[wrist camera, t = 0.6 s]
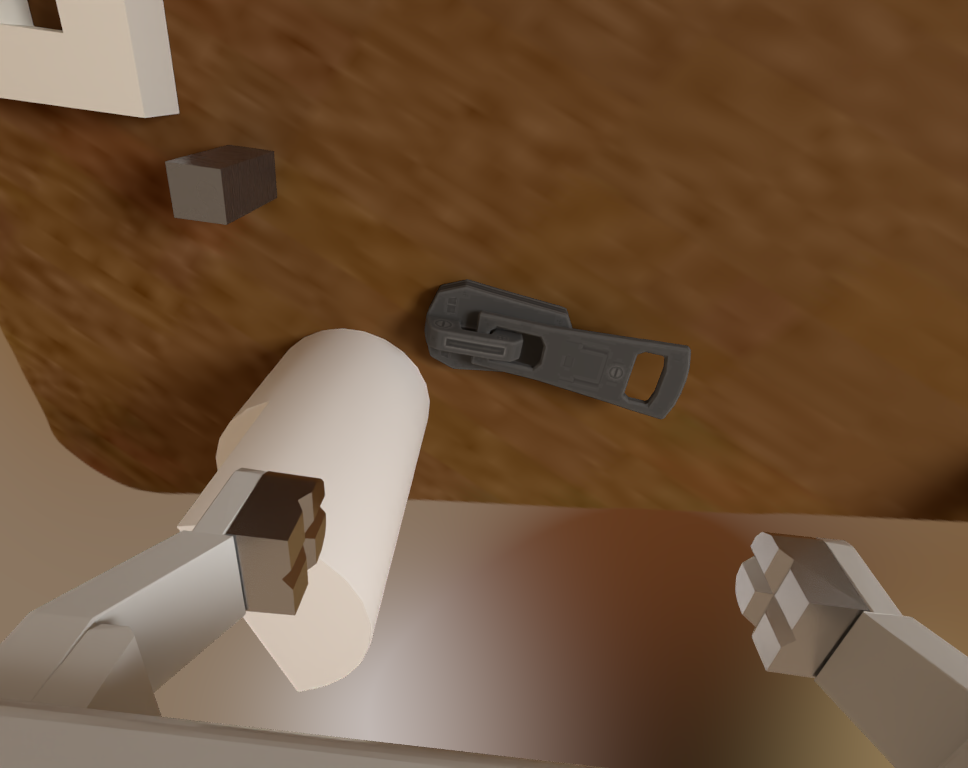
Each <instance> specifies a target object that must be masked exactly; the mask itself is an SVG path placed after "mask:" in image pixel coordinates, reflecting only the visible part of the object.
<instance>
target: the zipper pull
mask: <svg viewBox="0 0 968 768" xmlns="http://www.w3.org/2000/svg"><path fill="white" fill-rule="evenodd" d="M425 338H426V342H427V344H428V348H429V352H430V355H431V356H432V357H433V358H435V359H437V360H439V361H440V362H442V363H444V364H446V365H448V366H449V367H451V368H453V369H469V370H485V371H499V372H507V373H511V374H515V375H518V376H522V377H526V378H530V379H534V380H538V381H541V382H544V383H547V384H551V385H554V386H557V387H560V388H563V389H566V390H570V391H573V392H576V393H579V394H582V395H586V396H589V397H592V398H595V399H598V400H601V401H605V402H608V403H611V404H614V405H617V406H620V407H623V408H626V409H629V410H632V411H635V412H639V413H642V414H645V415H648V416H652V417H655V418H658V419H663V418H665V416H666V415H667V414H668V413H669V411H670V410H671V409H672V408H673V407H674V405H675V403H676V402H677V400H678V398H679V396H680V394H681V392H682V389H683V387H684V385H685V382H686V379H687V375H688V372H689V368H690V356H691V350H690V348H689V347H688V346H685V345H679V344H672V343H666V342H660V341H653V340H646V339H638V338H631V337H625V336H618V335H612V334H605V333H599V332H592V331H586V330H579V329H573V328H572V325H571V322H570V319H569V316H568V312H567V309H566V308H564V307H562V306H558V305H555V304H551V303H548V302H544V301H540V300H537V299H533V298H530V297H526V296H523V295H519V294H516V293H512V292H509V291H505V290H501V289H498V288H494V287H491V286H488V285H485V284H481V283H478V282H475V281H471V280H468V279H467V280H462V281H458V282H453V283H448V284H444V285H441V286H440V287H439V289H438V291H437V293H436V295H435V297H434V299H433V301H432V303H431V305H430V307H429V310H428V312H427V315H426V323H425ZM643 352H648V353H653V354H657V355H662V356H664V357H665V358H664V367H663V370H662V373H661V375H660V378H659V381H658V383H657V386H656V388H655V391H654V392H653V394H652V395H651V397H650V398H649V399H648V400H646V401H643V400H639V399H634V398H630V397H628V396H627V395H626V394H625V393H624V391H625V389H626V386H627V383H628V380H629V377H630V374H631V371H632V368H633V365H634V363H635V360H636V357H637V354H640V353H643Z"/></svg>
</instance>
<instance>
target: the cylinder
mask: <svg viewBox="0 0 968 768" xmlns="http://www.w3.org/2000/svg"><path fill="white" fill-rule="evenodd" d="M429 403H430V401H429V396H428V391H427V386H426V383H425V381H424V379H423V377H422V376H421V374H420V372H419V370H418V368H417V366H416V365H415V364H414V363H413V362H412V361H411V360H410V359H409V358H408V357H407V356H406V354H405V353H404V352H403V351H401V350H400V349H398V348H397V347H395V346H394V345H392V344H391V343H389V342H388V341H386V340H385V339H382V338H380V337H377V336H375V335H372V334H370V333H367V332H364V331H357V330H350V329H332V330H322V331H320V332H317V333H314V334H312V335H309V336H307V337H304V338H303V339H301V340H300V341H299V342H298V343H296V344H295V345H294V346H292V347H291V348H290V349H289V350H288V351H287V352H286V354H285V355H284V356H283V357H282V359H281V360H280V361H279V362H278V364H277V365H276V366H275V367H274V368H273V370H272V371H271V372H270V373H269V375H268V376H267V377H266V378H265V380H264V381H263V382H262V383H261V384H260V386H259V387H258V388H257V389H256V391H255V392H254V393H253V394H252V396H251V397H250V398H249V399H248V400H247V402H246V403H245V404H244V405H243V407H242V408H241V409H240V410H239V412H238V413H237V414H236V415H235V416H234V418H233V419H232V420H231V421H230V423H229V424H228V426H227V428H226V429H225V431H224V432H223V434H222V435H221V437H220V438H219V443H218V448H217V453H216V463H217V469H218V471H217V473H216V474H215V475H214V477H213V478H212V479H211V481H210V482H209V483H208V485H207V486H206V487H205V489H204V490H203V491H202V493H201V494H200V496H199V497H198V498H197V500H196V501H195V502H194V504H193V505H192V506H191V508H190V509H189V510H188V512H187V513H186V514H185V516H184V517H183V518H182V520H181V521H180V522H179V524H178V525H177V528H178V529H179V531H180V532H181V531H183V530H186V531H192V530H193V529H194V527H195V526H196V525H197V523H198V522H199V520H200V519H201V517H202V516H203V515H204V513H205V512H206V510H207V509H208V508H209V506H210V505H211V503H212V502H213V501H214V499H215V498H216V496H217V495H218V494H219V492H220V491H221V489H222V488H223V487H224V485H225V484H226V482H227V481H228V480H229V478H230V477H231V475H232V474H233V473H234V472H235V471H236V470H238V469H240V468H248V469H254V470H261V471H267V472H268V471H272V472H279V473H286V474H293V475H300V476H307V477H314V478H321V479H322V480H323V481H324V489H325V496H324V499H323V501H322V503H321V505H320V507H321V508H322V509H323V510H324V512H325V513H326V531H325V538H324V542H323V546H322V550H321V553H320V556H319V558H318V561H317V564H315V565H314V566H313V567H311V568H310V569H308V570H307V572H308V586H307V588H306V591H305V593H304V595H303V598H302V600H301V603H300V605H299V608H298V610H297V612H296V615H284V614H273V613H261V612H250V611H246V615H244V616H243V618H244V619H245V621H246V622H247V623H248V625H249V626H250V627H251V629H252V630H253V632H254V633H255V634H256V635H257V637H258V638H259V640H260V641H261V642H262V644H263V645H264V647H265V648H266V649H267V651H268V652H269V653H270V655H271V656H272V657H273V659H274V660H275V661H276V663H277V664H278V666H279V667H280V668H281V670H282V671H283V672H284V674H285V675H286V677H287V678H288V679H289V681H290V682H291V683H292V685H293V686H294V687H295V689H296V690H297V691H298V692H300V691H305V690H310V689H315V688H320V687H324V686H326V685H329V684H331V683H333V682H335V681H337V680H340V679H342V678H344V677H346V676H347V675H348V674H349V673H350V672H351V671H353V670H354V669H355V668H356V667H357V666H358V665H360V664H361V662H362V660H363V659H364V657H365V655H366V652H367V650H368V649H369V646H370V644H371V640H372V636H373V632H374V628H375V624H376V620H377V617H378V613H379V609H380V604H381V601H382V597H383V593H384V589H385V585H386V581H387V577H388V573H389V569H390V566H391V562H392V558H393V553H394V550H395V546H396V542H397V538H398V534H399V530H400V526H401V522H402V518H403V514H404V511H405V506H406V503H407V499H408V495H409V491H410V487H411V483H412V479H413V475H414V471H415V467H416V463H417V459H418V456H419V452H420V448H421V444H422V440H423V436H424V432H425V428H426V424H427V420H428V413H429Z"/></svg>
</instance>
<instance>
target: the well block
mask: <svg viewBox="0 0 968 768" xmlns="http://www.w3.org/2000/svg"><path fill="white" fill-rule="evenodd" d="M56 3H57V7H58V12H59V16H60V20H61V25H62V29H63V30H56V29H49V28H42V27H35V26H34V25H33V21H32V17H31V13H30V9H29V5H28V1H27V0H0V98H5V99H13V100H20V101H27V102H34V103H41V104H48V105H56V106H63V107H70V108H77V109H84V110H91V111H98V112H106V113H113V114H120V115H127V116H134V117H141V118H149V117H156V116H164V115H171V114H179V107H178V100H177V94H176V87H175V80H174V73H173V66H172V60H171V53H170V46H169V39H168V33H167V26H166V19H165V12H164V5H163V0H56Z"/></svg>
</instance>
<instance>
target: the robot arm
mask: <svg viewBox="0 0 968 768" xmlns="http://www.w3.org/2000/svg"><path fill="white" fill-rule="evenodd" d="M324 496H325V489H324V481H323V480H322V479H321V478H314V477H307V476H300V475H293V474H286V473H279V472H272V471H268V472H267V471H261V470H254V469H248V468H240V469H238V470H236V471H235V472H234V473H233V474H232V475H231V477H230V478H229V480H228V481H227V482H226V484H225V485H224V487H223V488H222V489H221V491H220V492H219V494H218V495H217V496H216V498H215V499H214V501H213V502H212V503H211V505H210V506H209V508H208V509H207V510H206V512H205V513H204V515H203V516H202V517H201V519H200V520H199V522H198V523H197V525H196V526H195V527H194V529H193V530H192V531H186V530H183V531H181V532H179V533H177V534H175V535H173V536H171V537H170V538H168V539H166V540H164V541H162V542H160V543H159V544H157V545H155V546H153V547H151V548H149V549H147V550H145V551H143V552H142V553H140V554H138V555H136V556H134V557H132V558H130V559H128V560H127V561H125V562H123V563H121V564H119V565H117V566H115V567H113V568H112V569H110V570H108V571H106V572H104V573H102V574H100V575H99V576H97V577H95V578H93V579H91V580H89V581H87V582H85V583H83V584H82V585H80V586H78V587H76V588H74V589H72V590H70V591H68V592H67V593H65V594H63V595H61V596H59V597H57V598H55V599H53V600H52V601H50V602H48V603H46V604H44V605H42V606H41V607H38V608H37V609H35V610H33V611H31V612H29V613H28V615H27V616H26V617H25V618H24V619H23V620H22V621H21V622H20V623H19V624H18V626H17V627H16V628H15V629H14V630H13V631H12V632H11V633H10V634H9V635H8V637H7V638H6V639H5V640H4V641H3V642H2V643H1V644H0V768H603V767H594V766H584V765H576V764H567V763H559V762H550V761H541V760H533V759H524V758H515V757H506V756H498V755H488V754H480V753H471V752H463V751H454V750H445V749H436V748H427V747H418V746H410V745H402V744H393V743H384V742H376V741H367V740H358V739H350V738H341V737H332V736H323V735H314V734H305V733H297V732H289V731H280V730H272V729H263V728H254V727H246V726H237V725H228V724H219V723H211V722H202V721H193V720H184V719H176V718H167V717H162V716H161V713H160V710H159V708H158V704H157V701H156V698H155V696H154V692H155V691H156V690H158V689H159V688H160V687H161V686H162V685H163V684H164V683H166V682H167V681H168V680H169V679H170V678H171V677H173V676H174V675H175V674H176V673H177V672H178V671H180V670H181V669H182V668H183V667H184V666H186V665H187V664H188V663H189V662H190V661H192V660H193V659H194V658H195V657H196V656H197V655H199V654H200V653H201V652H202V651H203V650H204V649H206V648H207V647H208V646H209V645H210V644H212V643H213V642H214V641H215V640H216V639H217V638H219V637H220V636H221V635H222V634H223V633H224V632H226V631H227V630H228V629H229V628H230V627H231V626H233V625H234V624H235V623H236V622H237V621H238V620H240V619H241V618H242V617H243V616H244V615H246V611H250V612H261V613H273V614H284V615H296V612H297V610H298V608H299V605H300V603H301V600H302V598H303V595H304V593H305V591H306V588H307V586H308V572H307V570H308V569H310V568H311V567H313V566H314V565H315V564H317V561H318V558H319V556H320V553H321V550H322V546H323V542H324V538H325V531H326V513H325V512H324V510H323V509H322V508H321V507H320V505H321V503H322V501H323V499H324ZM751 548H752V551H753V553H754V556H753V557H752V558H750V559H748V560H747V561H745V562H743V563H742V565H741V567H740V569H739V571H738V574H737V576H736V596H737V601H738V604H739V607H740V609H741V612H742V614H743V615H744V616H745V617H746V618H747V619H748V620H749V621H750V622H751V623H752V624H754V626H755V629H754V632H753V634H752V638H753V641H754V643H755V645H756V647H757V650H758V652H759V655H760V657H761V660H762V662H763V664H764V667H765V669H766V671H770V672H777V673H784V674H790V675H797V676H804V677H811V678H815V679H814V681H815V682H816V683H817V684H818V685H819V686H820V687H821V689H822V690H823V691H824V692H825V693H826V694H827V695H828V696H829V697H830V698H831V699H832V700H833V701H834V702H835V704H836V705H837V706H838V707H839V708H840V709H841V710H842V711H843V712H844V713H845V714H846V715H847V716H848V718H849V719H850V720H851V721H852V722H853V723H854V724H855V725H856V726H857V727H858V728H859V729H860V730H861V732H862V733H863V734H864V735H865V736H866V737H867V738H868V739H869V740H870V741H871V742H872V743H873V744H874V746H875V747H877V749H878V750H879V751H880V752H881V753H882V754H883V755H884V756H885V757H886V758H887V759H888V761H890V763H891V764H892V765H893V766H894V767H895V768H968V657H967V656H966V655H964V654H963V653H961V652H960V651H959V650H957V649H956V648H954V647H953V646H952V645H950V644H948V643H947V642H946V641H945V640H943V639H942V638H940V637H939V636H938V635H936V634H935V633H933V632H932V631H931V630H929V629H928V628H926V627H925V626H924V625H922V624H921V623H919V622H918V621H916V620H915V619H914V618H912V617H907V616H903V615H902V614H901V613H900V611H899V610H898V608H897V607H896V606H895V604H894V603H893V602H892V600H891V599H890V597H889V596H888V595H887V593H886V592H885V590H884V589H883V588H882V586H881V585H880V583H879V582H878V581H877V579H876V578H875V576H874V575H873V574H872V572H871V571H870V569H869V568H868V567H867V565H866V564H865V563H864V561H863V560H862V558H861V557H860V556H859V554H858V553H857V551H856V550H855V549H854V547H853V546H852V545H851V544H849V543H848V542H846V541H844V540H835V539H825V538H812V537H804V536H795V535H786V534H776V533H769V532H762V533H760V534H759V535H758V536H756V537H755V539H754V541H753V543H752V545H751Z"/></svg>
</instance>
